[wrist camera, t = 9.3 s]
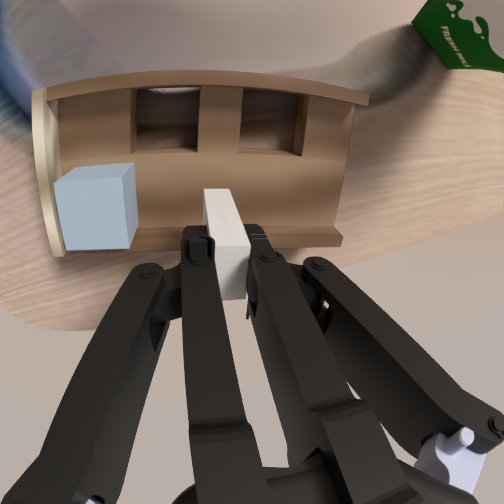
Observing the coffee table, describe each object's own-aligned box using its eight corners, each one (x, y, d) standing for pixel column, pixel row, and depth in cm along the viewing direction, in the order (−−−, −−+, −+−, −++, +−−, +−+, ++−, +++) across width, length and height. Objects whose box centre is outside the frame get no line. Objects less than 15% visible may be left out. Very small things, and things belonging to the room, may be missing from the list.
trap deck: (61, 89, 16) (32, 90, 12) (341, 92, 21) (373, 94, 17) (73, 229, 23) (53, 256, 19) (320, 224, 28) (343, 249, 23)
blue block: (75, 167, 18) (53, 183, 15) (134, 162, 19) (122, 177, 16) (83, 226, 21) (66, 250, 17) (138, 223, 22) (129, 248, 18)
